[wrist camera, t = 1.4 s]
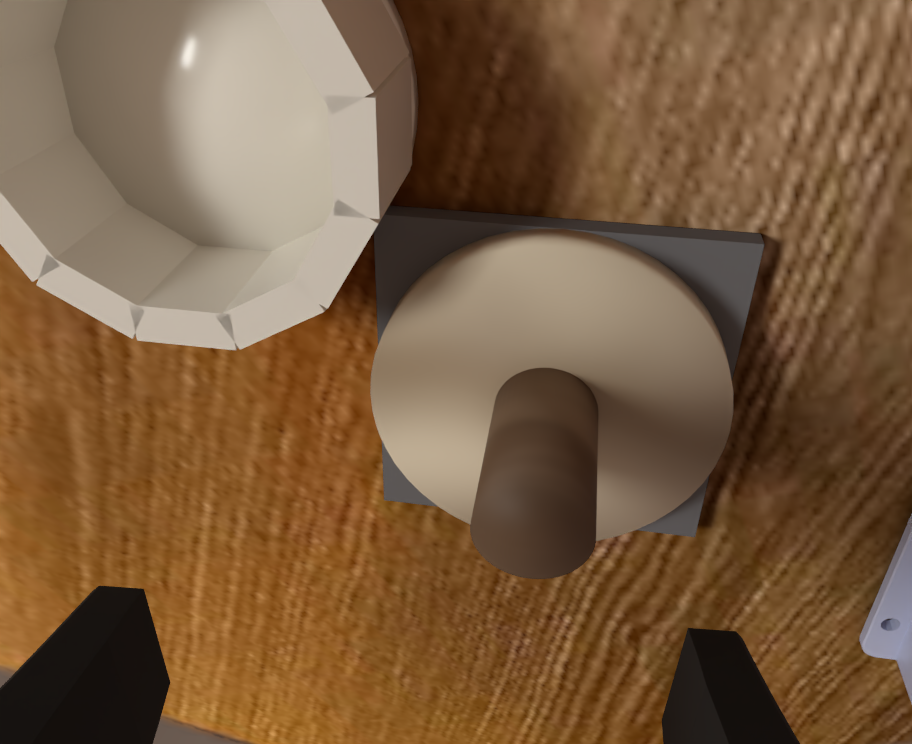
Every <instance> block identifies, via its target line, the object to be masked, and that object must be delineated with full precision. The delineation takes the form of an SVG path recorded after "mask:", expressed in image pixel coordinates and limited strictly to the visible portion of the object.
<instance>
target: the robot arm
mask: <svg viewBox="0 0 912 744" xmlns="http://www.w3.org/2000/svg"><path fill="white" fill-rule="evenodd" d="M892 618H893V619H892ZM886 619H891V620H886ZM860 643H861V646H862V649H863V651H864V652H865V653H866V654H868V655H870V656H874V657H879V658H886V659H894V660H897V663H898V666H899V669H900V672H901V674H902V677H903V680H904V683H905V686H906V689H907V692H908V695H909V698H910V701H911V703H912V514H911V516H910V519H909V521H908V523H907V526H906V528H905V531H904V533H903V535H902V538H901V540H900V542H899V545H898V547H897V549H896V552H895V554H894V556H893V559H892V561H891V564H890V566H889V568H888V571H887V573H886V575H885V578H884V580H883V582H882V585H881V587H880V590H879V592H878V594H877V597H876V599H875V601H874V604H873V606H872V608H871V611H870V613H869V616H868V618H867V620H866V623H865V625H864V627H863V630H862V632H861V634H860ZM169 685H170V680H169V677H168V673H167V670H166V666H165V662H164V659H163V655H162V652H161V648H160V645H159V641H158V638H157V634H156V631H155V627H154V624H153V620H152V617H151V613H150V610H149V606H148V603H147V599H146V595H145V592H144V589H137V588H123V587H109V586H98V587H97V588H96V589H95V590H93V591H92V592H91V593H90V594H89V596H88V597H87V598H86V599H85V600H84V601H83V602H82V603H81V604H80V605H79V606H78V607H77V608H76V609H75V610H74V611H73V612H72V613H71V615H70V616H69V617H68V618H67V619H66V620H65V621H64V622H63V623H62V624H61V625H60V626H59V627H58V628H57V629H56V630H55V632H54V633H53V634H52V635H51V636H50V637H49V638H48V639H47V640H46V641H45V642H44V643H43V644H42V645H41V646H40V647H39V648H38V650H37V651H36V652H35V653H34V654H33V655H32V656H31V657H30V658H29V659H28V660H27V661H26V662H25V663H24V664H23V665H22V666H21V667H20V668H19V669H18V670H17V671H16V672H15V673H14V675H13V676H12V677H11V678H10V679H9V680H8V681H7V682H6V683H5V684H4V685H3V686H2V687H1V688H0V744H153V740H154V737H155V734H156V731H157V727H158V724H159V721H160V717H161V713H162V710H163V706H164V703H165V699H166V695H167V692H168V688H169ZM662 729H663V742H664V744H800V743H799V741H798V740H797V738H796V736H795V735H794V733H793V731H792V729H791V728H790V726H789V724H788V722H787V721H786V719H785V717H784V715H783V714H782V712H781V710H780V708H779V707H778V705H777V703H776V701H775V699H774V698H773V696H772V694H771V692H770V690H769V688H768V687H767V685H766V683H765V681H764V679H763V677H762V675H761V674H760V672H759V670H758V668H757V666H756V664H755V662H754V660H753V658H752V657H751V655H750V653H749V651H748V649H747V647H746V645H745V643H744V641H743V639H742V638H741V636H740V635H739V634H738V633H737V632H735V631H721V630H707V629H693V628H688V630H687V634H686V637H685V641H684V644H683V648H682V651H681V655H680V658H679V662H678V665H677V669H676V672H675V676H674V679H673V683H672V686H671V690H670V693H669V697H668V700H667V704H666V707H665V711H664V714H663V718H662Z"/></svg>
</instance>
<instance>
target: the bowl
mask: <svg viewBox="0 0 912 744" xmlns="http://www.w3.org/2000/svg"><path fill="white" fill-rule="evenodd" d="M418 104H419V102H418V87H417V75H416V70H415V65H414V60H413V55H412V49H411V46H410V43H409V40H408V37H407V34H406V30H405V27H404V24H403V21H402V19H401V17H400V14H399V12H398V10H397V8H396V6H395V4H394V1H393V0H0V244H1V245H2V246H3V247H4V249H5V250H6V251H7V252H8V253H9V255H10V256H11V257H12V258H13V259H14V261H15V262H16V263H17V264H18V265H19V266H20V268H21V269H22V270H23V271H24V272H25V274H26V275H27V276H28V277H29V278H30V280H31V281H32V282H33V281H35V280H36V279H38V278H39V279H38V282H37V286H39V287H41V288H42V289H44V290H46V291H48V292H50V293H51V294H53V295H55V296H57V297H58V298H60V299H62V300H64V301H66V302H67V303H69V304H71V305H73V306H75V307H76V308H78V309H80V310H82V311H83V312H85V313H87V314H89V315H91V316H92V317H94V318H96V319H98V320H100V321H101V322H103V323H105V324H107V325H109V326H110V327H112V328H114V329H116V330H117V331H119V332H121V333H123V334H125V335H126V336H128V337H130V338H132V339H133V338H134V337H135V336H136V337H137V340H138V341H148V342H158V343H168V344H178V345H188V346H198V347H208V348H218V349H228V350H236V349H237V348H238V347H239V349H243V348H245V347H247V346H249V345H251V344H254V343H256V342H258V341H260V340H263V339H265V338H267V337H269V336H272V335H274V334H276V333H278V332H280V331H283V330H285V329H287V328H289V327H292V326H294V325H296V324H298V323H301V322H303V321H305V320H307V319H309V318H312V317H314V316H316V315H318V314H321V313H323V312H325V310H326V308H327V309H328V308H329V306H330V304H331V303H332V301H333V299H334V297H335V296H336V294H337V292H338V291H339V289H340V287H341V286H342V284H343V282H344V281H345V279H346V277H347V276H348V274H349V272H350V271H351V269H352V267H353V266H354V264H355V262H356V261H357V259H358V257H359V256H360V254H361V252H362V251H363V249H364V247H365V245H366V244H367V242H368V240H369V239H370V237H371V235H372V234H373V232H374V230H375V229H376V227H377V225H378V224H379V222H380V220H381V219H382V217H383V215H384V214H385V212H386V210H387V208H388V207H389V205H390V203H391V202H392V200H393V198H394V197H395V195H396V193H397V192H398V190H399V188H400V186H401V185H402V183H403V181H404V180H405V178H406V176H407V175H408V173H409V171H410V170H411V168H410V167H411V165H412V153H413V148H414V143H415V137H416V132H417V122H418Z"/></svg>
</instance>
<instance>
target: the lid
mask: <svg viewBox="0 0 912 744" xmlns="http://www.w3.org/2000/svg"><path fill="white" fill-rule="evenodd" d="M371 402H372V410H373V415H374V418H375V422H376V426H377V429H378V432H379V434H380V436H381V439H382V441H383V443H384V446H385V448H386V449H387V451H388V453H389V454H390V456H391V458H392V459H393V461H394V463H395V464H396V466H397V467H398V468H399V469H400V471H401V472H402V473H403V474H404V476H405V477H406V478H407V479H408V480H409V481H410V482H411V483H412V484H413V485H414V486H415V487H416V488H417V489H418V490H419V491H420V492H421V493H422V494H423V495H424V496H426V497H427V498H428V499H429V500H431V501H432V502H433V503H434V504H436V505H437V506H438V507H440V508H442V509H443V510H445V511H446V512H448V513H450V514H451V515H453V516H454V517H456V518H458V519H460V520H462V521H464V522H466V523H468V524H470V533H471V537H472V540H473V543H474V545H475V547H476V548H477V550H478V551H479V553H480V554H481V555H482V556H483V557H484V558H485V559H486V560H487V561H488V562H489V563H491V564H492V565H494V566H495V567H497V568H498V569H500V570H502V571H504V572H507V573H509V574H512V575H515V576H519V577H524V578H531V579H547V578H554V577H559V576H562V575H565V574H568V573H570V572H572V571H574V570H576V569H577V568H579V567H580V566H581V565H582V564H584V563H585V562H586V561H587V559H588V558H589V557H590V555H591V554H592V552H593V550H594V547H595V543H596V541H598V540H602V539H607V538H611V537H616V536H619V535H622V534H625V533H628V532H631V531H634V530H637V529H639V528H641V527H644V526H646V525H648V524H650V523H652V522H654V521H656V520H658V519H660V518H661V517H663V516H665V515H666V514H668V513H670V512H671V511H673V510H674V509H675V508H677V507H678V506H679V505H680V504H682V503H683V502H684V501H686V500H687V499H688V498H689V497H690V496H691V495H692V494H693V493H694V492H695V491H696V490H697V489H698V488H699V487H700V486H701V485H702V484H703V483H704V481H705V480H706V479H707V477H708V476H709V474H710V473H711V472H712V470H713V469H714V468H715V466H716V464H717V462H718V460H719V458H720V456H721V454H722V452H723V450H724V448H725V445H726V442H727V439H728V436H729V433H730V429H731V423H732V417H733V386H732V380H731V374H730V369H729V364H728V360H727V356H726V351H725V347H724V344H723V342H722V339H721V336H720V333H719V330H718V328H717V326H716V324H715V322H714V320H713V318H712V316H711V315H710V313H709V311H708V309H707V308H706V307H705V305H704V304H703V302H702V301H701V300H700V298H699V297H698V296H697V294H696V293H695V292H694V291H693V290H692V289H691V288H690V287H689V286H688V285H687V284H686V283H685V282H684V281H683V280H682V279H681V278H680V277H679V276H678V275H677V274H676V273H674V272H673V271H672V270H670V269H669V268H668V267H666V266H665V265H664V264H662V263H661V262H660V261H658V260H657V259H655V258H653V257H651V256H650V255H648V254H646V253H644V252H642V251H641V250H639V249H637V248H635V247H632V246H630V245H627V244H625V243H622V242H620V241H618V240H615V239H612V238H608V237H605V236H601V235H597V234H593V233H590V232H583V231H576V230H569V229H548V228H536V229H527V230H517V231H511V232H506V233H502V234H498V235H493V236H489V237H486V238H484V239H481V240H478V241H476V242H473V243H470V244H468V245H465V246H463V247H462V248H460V249H458V250H456V251H454V252H452V253H450V254H448V255H447V256H445V257H444V258H442V259H441V260H439V261H438V262H437V263H435V264H434V265H433V266H431V267H430V268H428V269H427V270H426V271H425V272H424V273H423V274H422V275H421V276H420V277H419V278H418V279H417V280H416V281H415V282H414V283H413V284H412V285H411V286H410V288H409V289H408V290H407V291H406V293H405V294H404V295H403V297H402V298H401V299H400V301H399V303H398V304H397V306H396V308H395V310H394V312H393V313H392V315H391V317H390V319H389V321H388V324H387V326H386V328H385V330H384V332H383V335H382V337H381V340H380V342H379V345H378V348H377V351H376V353H375V357H374V362H373V367H372V372H371Z"/></svg>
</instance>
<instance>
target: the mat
mask: <svg viewBox="0 0 912 744" xmlns="http://www.w3.org/2000/svg"><path fill="white" fill-rule="evenodd" d="M536 228H548V229H569V230H576V231H583V232H590V233H593V234H597V235H601V236H605V237H608V238H612V239H615V240H618V241H620V242H622V243H625V244H627V245H630V246H632V247H635V248H637V249H639V250H641V251H642V252H644V253H646V254H648V255H650V256H651V257H653V258H655V259H657V260H658V261H660V262H661V263H662V264H664V265H665V266H666V267H668V268H669V269H670V270H672V271H673V272H674V273H676V274H677V275H678V276H679V277H680V278H681V279H682V280H683V281H684V282H685V283H686V284H687V285H688V286H689V287H690V288H691V289H692V290H693V291H694V292H695V293H696V294H697V296H698V297H699V298H700V300H701V301H702V302H703V304H704V305H705V307H706V308H707V309H708V311H709V313H710V315H711V316H712V318H713V320H714V322H715V324H716V326H717V328H718V330H719V333H720V336H721V339H722V342H723V344H724V347H725V351H726V356H727V360H728V364H729V369H730V374H731V380H732V379H733V375H734V370H735V366H736V362H737V358H738V354H739V349H740V345H741V341H742V337H743V333H744V328H745V324H746V320H747V316H748V311H749V307H750V303H751V299H752V295H753V290H754V286H755V282H756V278H757V274H758V269H759V265H760V261H761V257H762V253H763V248H764V242H763V239H762V236H761V234H758V233H745V232H732V231H719V230H706V229H693V228H680V227H666V226H653V225H640V224H627V223H614V222H601V221H588V220H574V219H561V218H548V217H535V216H522V215H509V214H496V213H482V212H469V211H456V210H443V209H430V208H417V207H403V206H390V205H389V207H388V208H387V210H386V212H385V214H384V215H383V217H382V219H381V220H380V222H379V224H378V225H377V227H376V229H375V230H374V250H375V276H376V301H377V327H378V345H379V342H380V340H381V337H382V335H383V332H384V330H385V328H386V326H387V324H388V321H389V319H390V317H391V315H392V313H393V312H394V310H395V308H396V306H397V304H398V303H399V301H400V299H401V298H402V297H403V295H404V294H405V293H406V291H407V290H408V289H409V288H410V286H411V285H412V284H413V283H414V282H415V281H416V280H417V279H418V278H419V277H420V276H421V275H422V274H423V273H424V272H425V271H426V270H427V269H428V268H430V267H431V266H433V265H434V264H435V263H437V262H438V261H439V260H441V259H442V258H444V257H445V256H447V255H448V254H450V253H452V252H454V251H456V250H458V249H460V248H462V247H463V246H465V245H468V244H470V243H473V242H476V241H478V240H481V239H484V238H486V237H489V236H493V235H498V234H502V233H506V232H511V231H517V230H527V229H536ZM382 455H383V480H384V500H389V501H397V502H405V503H414V504H422V505H431V506H437V505H436V504H434V503H433V502H432V501H431V500H429V499H428V498H427V497H426V496H424V495H423V494H422V493H421V492H420V491H419V490H418V489H417V488H416V487H415V486H414V485H413V484H412V483H411V482H410V481H409V480H408V479H407V478H406V477H405V476H404V474H403V473H402V472H401V471H400V469H399V468H398V467H397V466H396V464H395V463H394V461H393V459H392V458H391V456H390V454H389V453H388V451H387V449H386V448H385V446H384V443H383V441H382ZM709 475H710V474H709ZM708 480H709V476H708V477H707V479H706V480H705V481H704V483H703V484H702V485H701V486H700V487H699V488H698V489H697V490H696V491H695V492H694V493H693V494H692V495H691V496H690V497H689V498H688V499H687V500H686V501H684V502H683V503H682V504H680V505H679V506H678V507H677V508H675V509H674V510H673V511H671V512H670V513H668V514H666V515H665V516H663V517H661V518H660V519H658V520H656V521H654V522H652V523H650V524H648V525H646V526H644V527H641V528H639V529H637V530H641V531H649V532H657V533H666V534H674V535H683V536H691V537H695V534H696V530H697V526H698V522H699V517H700V513H701V509H702V505H703V501H704V496H705V492H706V488H707V484H708Z"/></svg>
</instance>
